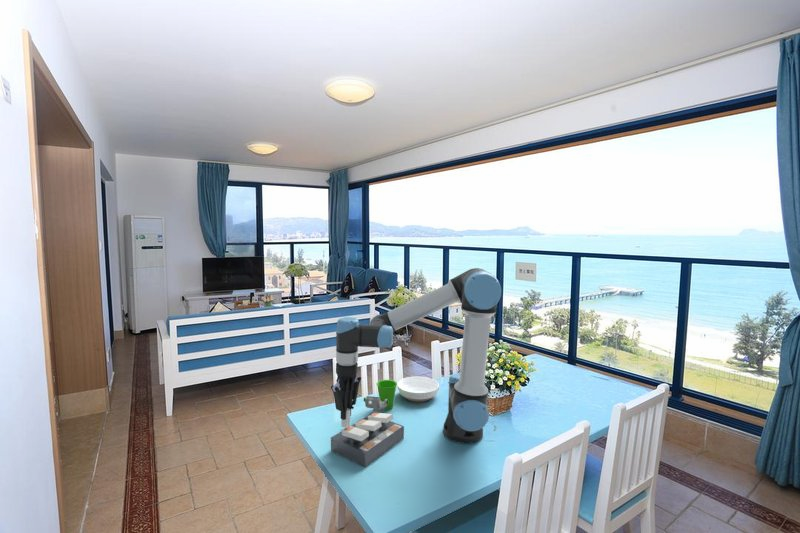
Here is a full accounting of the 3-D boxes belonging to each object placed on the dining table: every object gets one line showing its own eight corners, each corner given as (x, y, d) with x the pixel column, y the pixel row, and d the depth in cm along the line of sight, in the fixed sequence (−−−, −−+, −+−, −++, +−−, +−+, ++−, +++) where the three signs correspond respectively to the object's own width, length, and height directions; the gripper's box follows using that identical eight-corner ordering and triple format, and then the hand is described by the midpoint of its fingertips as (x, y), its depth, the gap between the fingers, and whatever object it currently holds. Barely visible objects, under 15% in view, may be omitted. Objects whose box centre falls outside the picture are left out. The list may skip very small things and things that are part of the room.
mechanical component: (387, 425, 156) (387, 401, 155) (363, 422, 158) (362, 398, 158) (389, 421, 159) (389, 397, 158) (365, 418, 161) (365, 395, 160)
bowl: (393, 404, 175) (393, 391, 174) (400, 386, 194) (401, 375, 194) (437, 407, 172) (437, 394, 171) (440, 389, 191) (440, 377, 190)
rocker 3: (393, 418, 146) (392, 413, 146) (386, 423, 143) (385, 417, 143) (375, 417, 151) (374, 412, 151) (368, 421, 148) (367, 416, 148)
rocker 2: (381, 426, 140) (380, 420, 140) (374, 430, 137) (373, 425, 137) (363, 424, 146) (362, 419, 146) (356, 428, 142) (355, 423, 142)
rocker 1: (368, 436, 135) (368, 430, 135) (361, 441, 132) (360, 435, 131) (349, 430, 140) (349, 425, 140) (342, 435, 137) (341, 429, 137)
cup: (373, 410, 169) (373, 385, 168) (381, 401, 177) (381, 378, 176) (392, 414, 166) (392, 389, 165) (400, 405, 174) (400, 381, 173)
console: (403, 438, 146) (403, 423, 146) (365, 467, 129) (365, 449, 128) (371, 425, 156) (371, 411, 155) (330, 451, 138) (330, 434, 137)
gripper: (351, 355, 143) (350, 416, 146) (325, 364, 132) (324, 430, 135) (367, 359, 139) (365, 422, 141) (341, 370, 128) (340, 438, 131)
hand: (345, 426), depth 138 cm, fingers closed
